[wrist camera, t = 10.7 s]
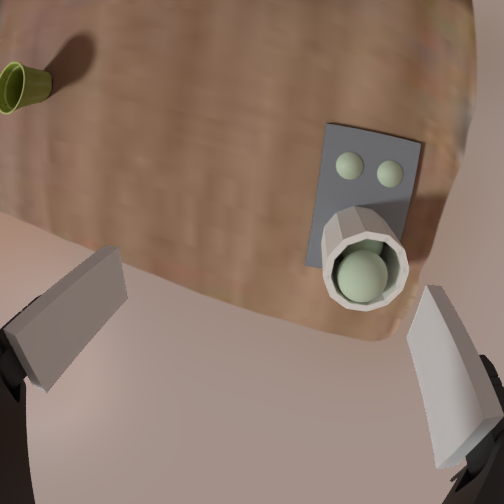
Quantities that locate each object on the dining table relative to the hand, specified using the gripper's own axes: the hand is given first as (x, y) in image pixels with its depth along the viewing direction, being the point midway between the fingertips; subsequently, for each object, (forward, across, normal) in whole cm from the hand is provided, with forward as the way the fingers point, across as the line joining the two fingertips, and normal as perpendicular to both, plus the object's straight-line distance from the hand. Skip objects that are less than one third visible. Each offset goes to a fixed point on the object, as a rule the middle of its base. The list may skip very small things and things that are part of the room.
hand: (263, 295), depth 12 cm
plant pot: (+31, -46, +16) cm, 58 cm away
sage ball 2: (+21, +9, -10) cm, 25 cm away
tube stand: (+30, +9, -4) cm, 32 cm away
